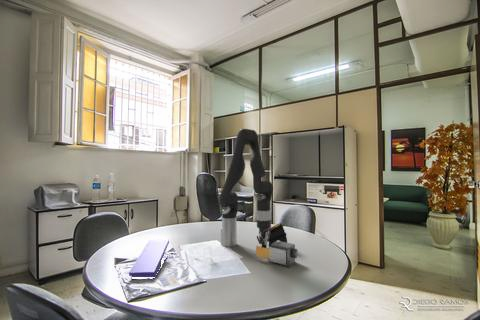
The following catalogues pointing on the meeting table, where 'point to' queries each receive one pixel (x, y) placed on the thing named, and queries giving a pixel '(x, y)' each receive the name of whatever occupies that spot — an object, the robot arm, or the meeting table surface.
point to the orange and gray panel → (274, 254)
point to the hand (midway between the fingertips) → (264, 251)
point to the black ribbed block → (277, 234)
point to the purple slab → (149, 259)
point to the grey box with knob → (283, 245)
